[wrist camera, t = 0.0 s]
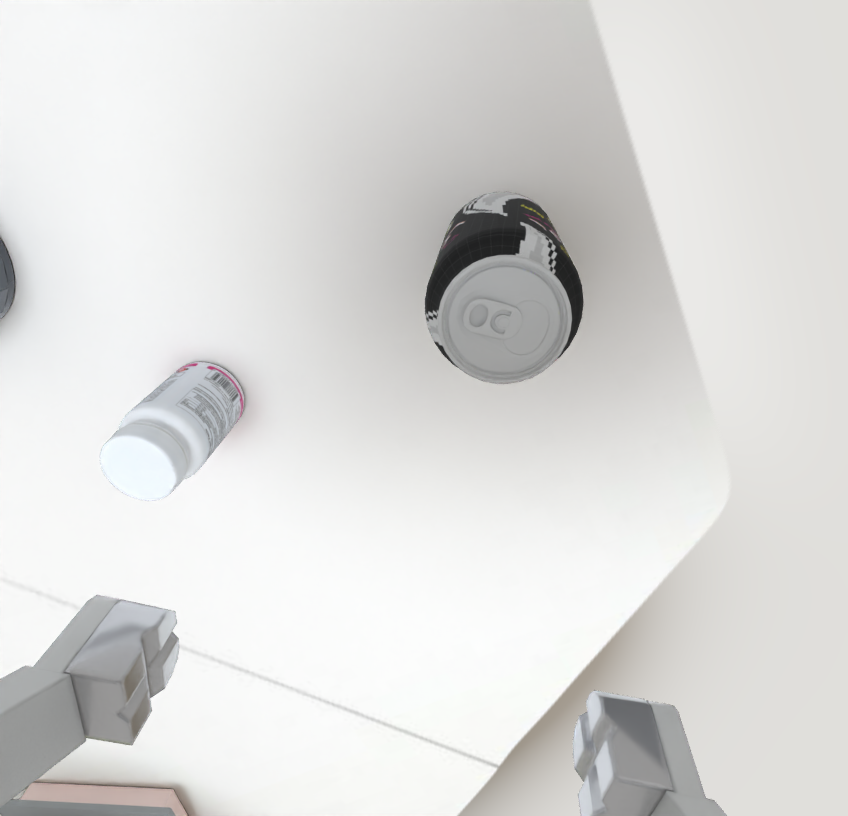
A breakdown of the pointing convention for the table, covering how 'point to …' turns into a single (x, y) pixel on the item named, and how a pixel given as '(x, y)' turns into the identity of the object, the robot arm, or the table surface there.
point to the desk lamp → (93, 801)
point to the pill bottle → (172, 431)
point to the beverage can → (503, 291)
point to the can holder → (5, 280)
